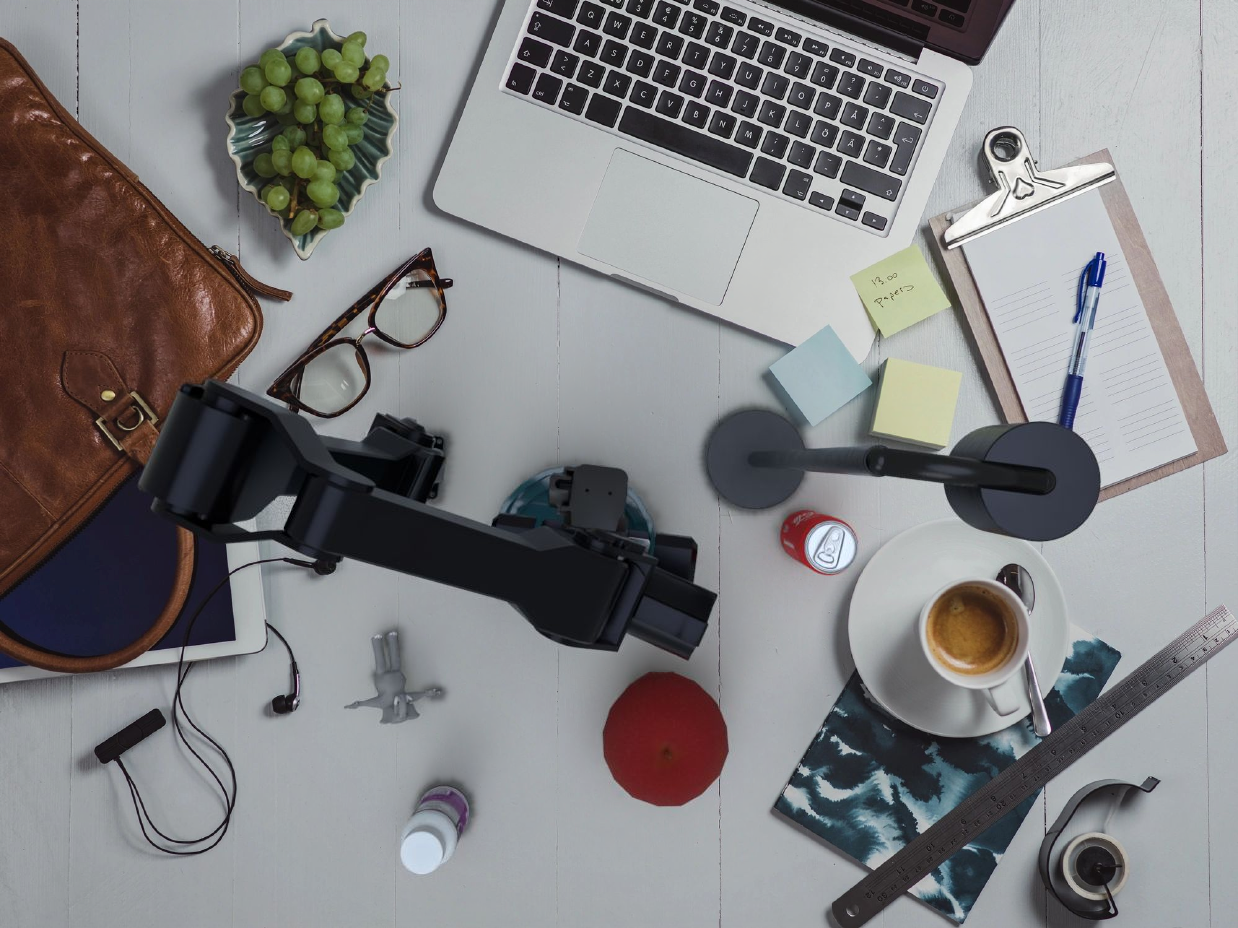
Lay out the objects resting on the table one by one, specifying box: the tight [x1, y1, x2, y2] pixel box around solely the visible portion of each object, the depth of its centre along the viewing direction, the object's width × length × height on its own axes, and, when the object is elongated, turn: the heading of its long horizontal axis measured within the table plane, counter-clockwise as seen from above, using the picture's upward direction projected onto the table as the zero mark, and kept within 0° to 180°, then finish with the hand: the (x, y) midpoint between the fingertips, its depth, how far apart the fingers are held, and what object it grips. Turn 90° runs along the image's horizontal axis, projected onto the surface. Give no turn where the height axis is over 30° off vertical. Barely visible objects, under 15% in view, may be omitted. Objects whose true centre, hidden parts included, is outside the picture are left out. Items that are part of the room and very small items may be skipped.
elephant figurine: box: [343, 631, 441, 725], centre depth 84 cm, size 10×6×9 cm
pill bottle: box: [399, 785, 470, 875], centre depth 82 cm, size 5×5×10 cm
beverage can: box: [779, 509, 859, 576], centre depth 80 cm, size 5×5×12 cm
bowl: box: [498, 464, 656, 556], centre depth 84 cm, size 16×16×4 cm
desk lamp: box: [704, 409, 1102, 543], centre depth 63 cm, size 16×10×45 cm, turn 83°
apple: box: [602, 671, 730, 808], centre depth 79 cm, size 12×12×13 cm
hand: (596, 548), depth 84 cm, fingers closed on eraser, 3 cm apart
